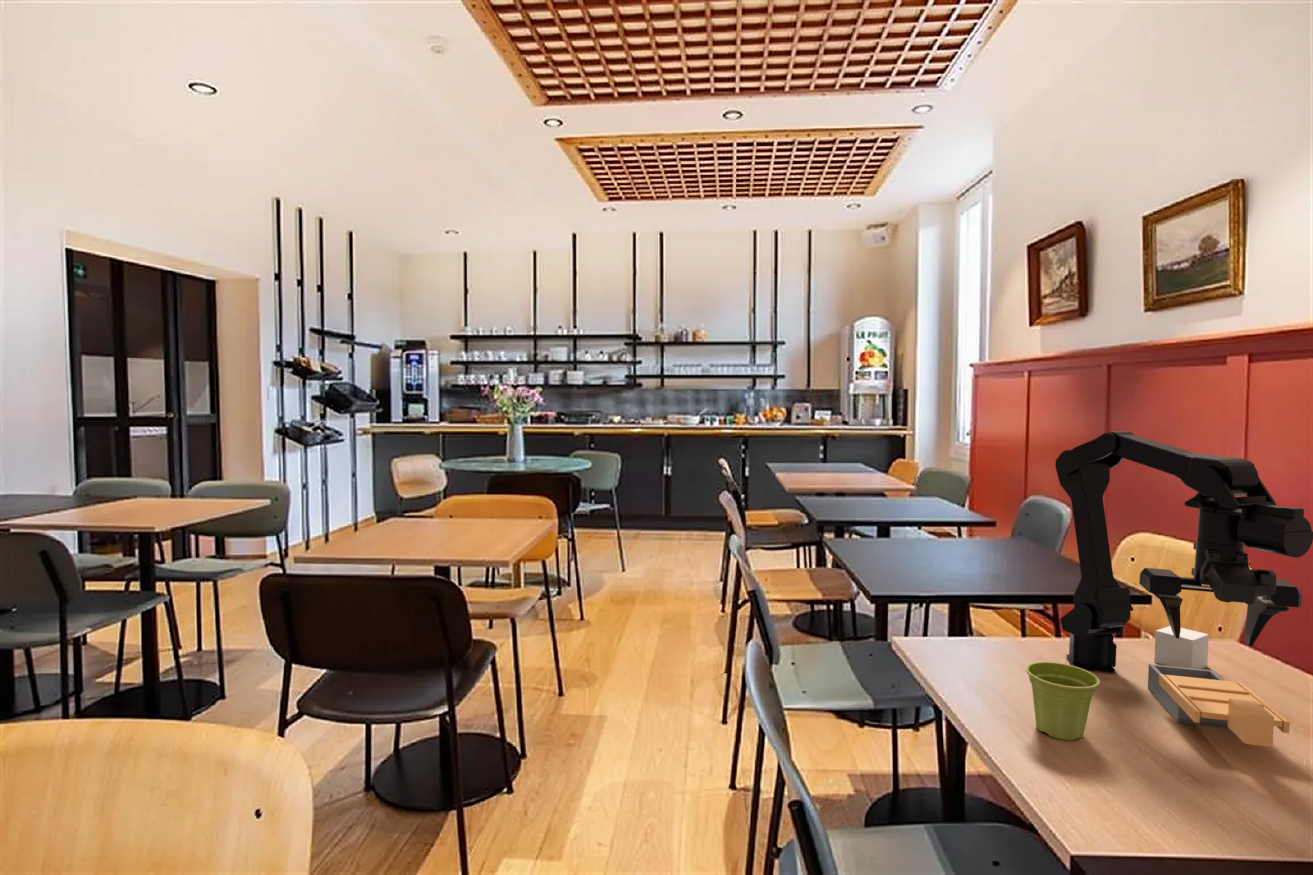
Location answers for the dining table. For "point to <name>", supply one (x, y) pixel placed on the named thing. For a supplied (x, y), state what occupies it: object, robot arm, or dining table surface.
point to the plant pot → (1061, 698)
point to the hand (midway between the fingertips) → (1212, 641)
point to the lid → (1226, 706)
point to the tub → (1170, 703)
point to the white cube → (1181, 648)
